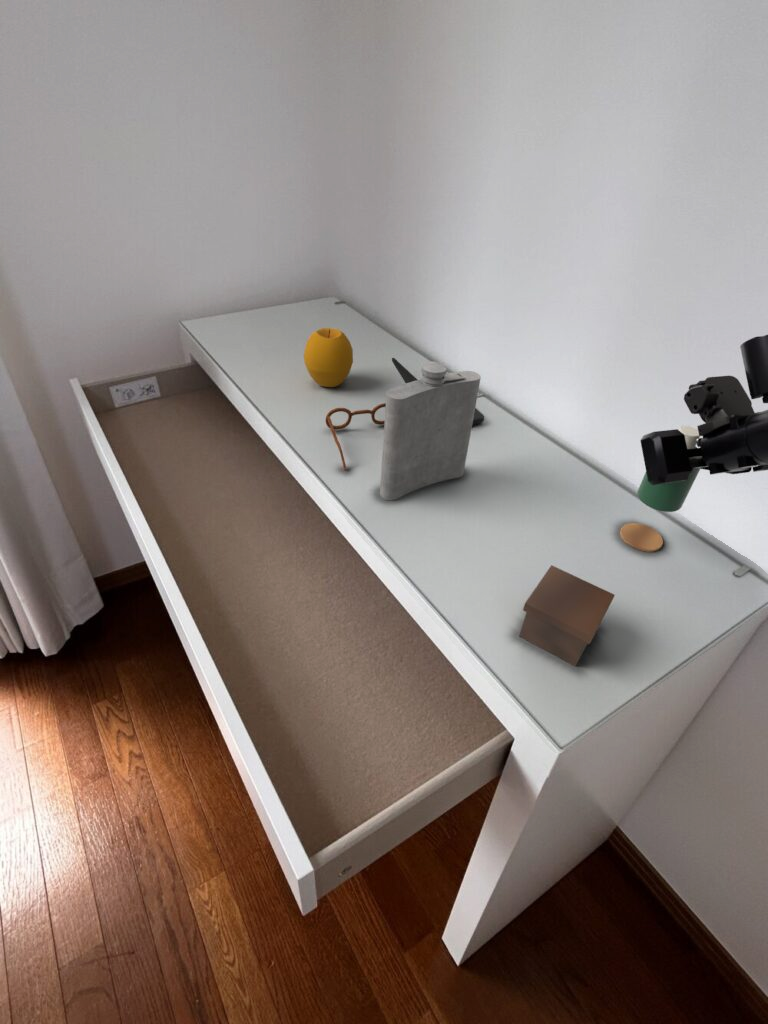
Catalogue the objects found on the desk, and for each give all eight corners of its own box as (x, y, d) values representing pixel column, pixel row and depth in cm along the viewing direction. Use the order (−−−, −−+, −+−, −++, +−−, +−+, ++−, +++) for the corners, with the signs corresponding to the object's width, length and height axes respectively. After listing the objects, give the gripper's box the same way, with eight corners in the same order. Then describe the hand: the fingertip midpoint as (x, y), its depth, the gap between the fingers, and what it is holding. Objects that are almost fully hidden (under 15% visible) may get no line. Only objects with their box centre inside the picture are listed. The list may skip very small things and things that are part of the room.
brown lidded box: (600, 627, 71) (615, 594, 67) (577, 670, 66) (592, 637, 62) (540, 597, 74) (551, 564, 70) (514, 636, 69) (524, 603, 65)
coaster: (663, 533, 86) (664, 531, 86) (659, 557, 82) (660, 555, 81) (623, 520, 88) (624, 518, 88) (617, 542, 84) (618, 540, 83)
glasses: (394, 423, 106) (395, 399, 103) (418, 462, 97) (420, 437, 94) (325, 431, 103) (324, 406, 100) (342, 472, 93) (343, 446, 90)
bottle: (691, 506, 79) (726, 438, 72) (659, 516, 77) (691, 446, 70) (659, 482, 83) (689, 416, 76) (628, 490, 81) (655, 423, 74)
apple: (310, 398, 112) (309, 340, 104) (299, 376, 119) (297, 321, 111) (358, 393, 115) (360, 336, 107) (344, 372, 122) (345, 317, 114)
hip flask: (386, 502, 88) (396, 383, 75) (373, 488, 90) (379, 371, 78) (467, 474, 95) (488, 361, 82) (452, 462, 97) (470, 351, 85)
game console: (486, 424, 108) (495, 380, 102) (422, 437, 103) (427, 391, 97) (446, 387, 119) (452, 346, 113) (387, 397, 114) (389, 354, 108)
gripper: (817, 361, 66) (710, 402, 81) (681, 372, 61) (596, 412, 76) (837, 456, 65) (726, 479, 80) (701, 473, 60) (611, 494, 75)
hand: (666, 464), depth 78 cm, fingers closed on bottle, 6 cm apart
